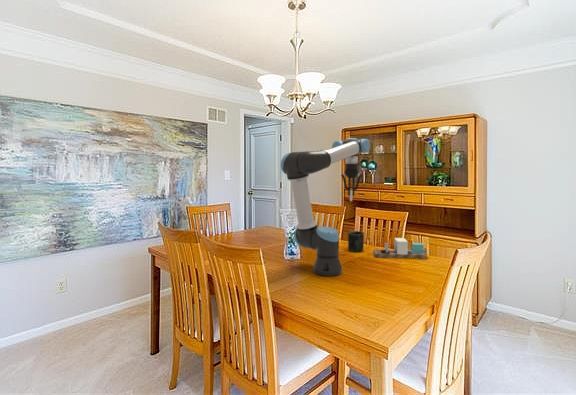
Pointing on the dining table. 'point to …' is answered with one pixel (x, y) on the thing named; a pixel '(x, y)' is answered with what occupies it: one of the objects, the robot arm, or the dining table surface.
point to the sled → (408, 250)
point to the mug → (355, 241)
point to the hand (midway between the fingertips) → (351, 200)
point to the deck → (396, 255)
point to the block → (417, 247)
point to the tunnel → (401, 246)
